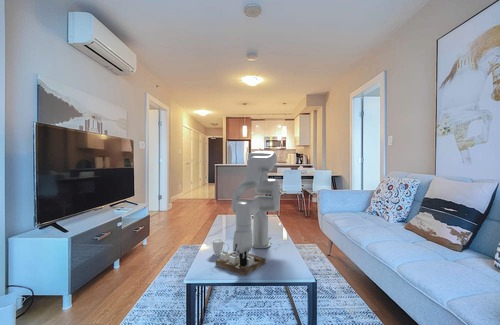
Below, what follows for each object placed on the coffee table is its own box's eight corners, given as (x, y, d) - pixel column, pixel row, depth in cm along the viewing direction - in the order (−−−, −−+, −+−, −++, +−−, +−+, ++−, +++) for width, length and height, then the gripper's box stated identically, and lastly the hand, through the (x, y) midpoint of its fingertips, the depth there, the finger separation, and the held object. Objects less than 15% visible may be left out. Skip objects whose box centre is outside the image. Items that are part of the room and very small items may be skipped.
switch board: (238, 254, 142) (238, 249, 142) (265, 263, 131) (265, 258, 130) (215, 265, 128) (215, 259, 128) (243, 276, 116) (243, 269, 116)
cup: (213, 251, 147) (213, 238, 147) (230, 252, 146) (230, 239, 145) (210, 256, 140) (210, 241, 140) (227, 257, 139) (227, 242, 139)
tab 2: (248, 263, 126) (248, 253, 126) (253, 265, 124) (253, 255, 124) (243, 265, 123) (243, 256, 123) (248, 267, 121) (248, 258, 121)
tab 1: (225, 258, 132) (225, 249, 132) (230, 260, 130) (230, 251, 130) (219, 261, 129) (220, 251, 129) (224, 262, 127) (224, 253, 127)
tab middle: (234, 261, 128) (234, 252, 128) (239, 263, 126) (239, 254, 126) (229, 264, 125) (229, 254, 125) (234, 266, 123) (234, 256, 123)
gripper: (247, 223, 129) (246, 258, 129) (227, 229, 117) (226, 268, 117) (258, 225, 124) (258, 262, 124) (239, 232, 112) (238, 272, 112)
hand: (243, 265), depth 121 cm, fingers closed
